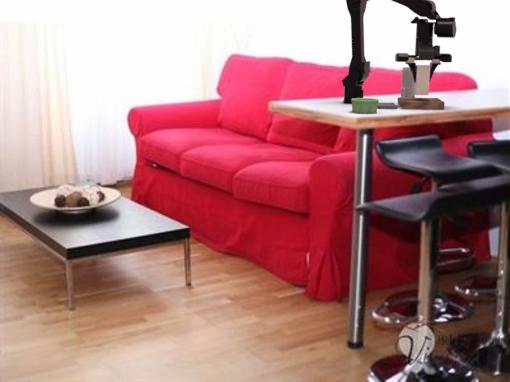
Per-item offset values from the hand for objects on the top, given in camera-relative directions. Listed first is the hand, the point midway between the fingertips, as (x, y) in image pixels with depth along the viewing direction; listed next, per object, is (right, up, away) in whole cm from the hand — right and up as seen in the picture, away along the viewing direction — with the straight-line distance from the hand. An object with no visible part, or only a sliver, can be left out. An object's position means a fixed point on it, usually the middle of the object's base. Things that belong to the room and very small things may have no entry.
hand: (421, 82), depth 267 cm
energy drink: (0, -3, +25) cm, 26 cm away
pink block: (0, -4, +1) cm, 4 cm away
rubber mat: (-14, -8, +1) cm, 17 cm away
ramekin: (-22, -12, -13) cm, 28 cm away
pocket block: (0, -8, +2) cm, 8 cm away
